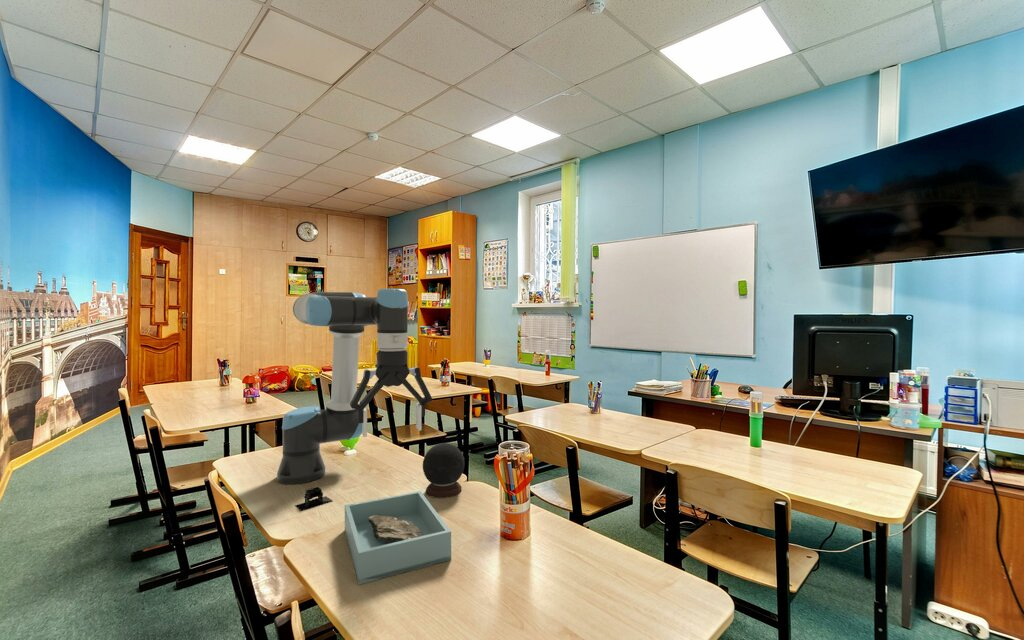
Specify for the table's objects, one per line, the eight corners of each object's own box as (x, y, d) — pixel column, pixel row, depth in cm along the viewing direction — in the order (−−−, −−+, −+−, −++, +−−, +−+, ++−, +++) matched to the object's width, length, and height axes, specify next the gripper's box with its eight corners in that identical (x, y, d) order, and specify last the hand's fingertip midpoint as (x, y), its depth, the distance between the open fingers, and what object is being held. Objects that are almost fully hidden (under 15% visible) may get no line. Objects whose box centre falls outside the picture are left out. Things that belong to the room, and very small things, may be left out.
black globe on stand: (414, 495, 136) (414, 447, 136) (437, 480, 148) (436, 436, 148) (451, 502, 131) (451, 452, 131) (471, 486, 143) (471, 440, 143)
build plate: (296, 515, 123) (296, 499, 123) (287, 508, 128) (286, 492, 128) (339, 502, 132) (339, 487, 132) (329, 495, 137) (329, 481, 137)
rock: (438, 534, 109) (438, 520, 109) (415, 556, 99) (415, 540, 99) (377, 522, 116) (377, 509, 116) (349, 542, 106) (349, 527, 106)
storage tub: (344, 530, 114) (344, 505, 114) (420, 514, 123) (420, 491, 123) (358, 584, 90) (358, 553, 90) (451, 559, 100) (451, 531, 100)
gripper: (341, 352, 103) (341, 442, 103) (444, 349, 114) (443, 430, 114) (338, 349, 109) (338, 434, 110) (435, 346, 120) (435, 423, 121)
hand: (392, 432), depth 112 cm, fingers open, 13 cm apart
